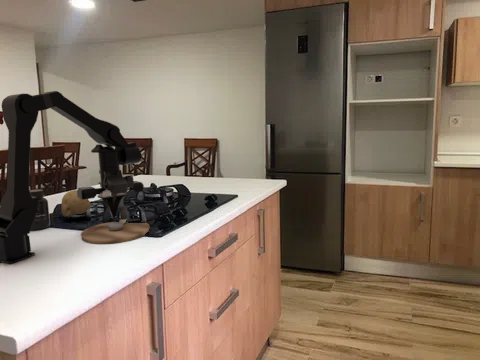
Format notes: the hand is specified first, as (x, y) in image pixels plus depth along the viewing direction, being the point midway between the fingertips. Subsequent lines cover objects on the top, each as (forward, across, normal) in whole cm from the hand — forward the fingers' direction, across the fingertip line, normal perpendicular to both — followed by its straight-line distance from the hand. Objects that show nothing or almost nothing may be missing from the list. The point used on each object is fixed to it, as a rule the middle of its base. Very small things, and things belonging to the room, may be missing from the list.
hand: (113, 217), depth 116 cm
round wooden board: (+3, -2, -6) cm, 7 cm away
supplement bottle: (+4, -18, +18) cm, 25 cm away
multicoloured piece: (+2, 0, -4) cm, 4 cm away
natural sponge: (+3, -6, +20) cm, 21 cm away
